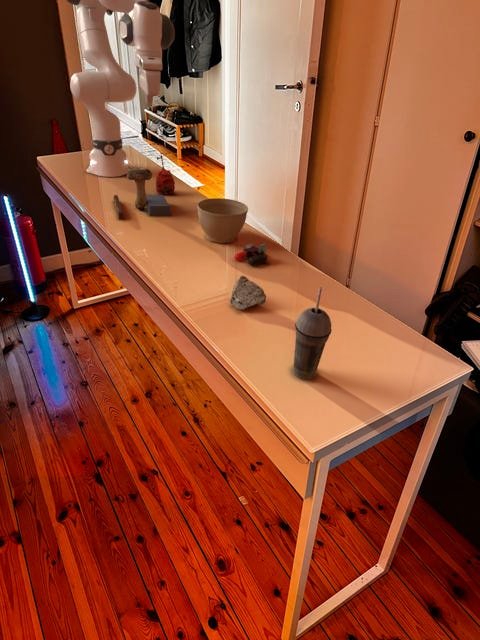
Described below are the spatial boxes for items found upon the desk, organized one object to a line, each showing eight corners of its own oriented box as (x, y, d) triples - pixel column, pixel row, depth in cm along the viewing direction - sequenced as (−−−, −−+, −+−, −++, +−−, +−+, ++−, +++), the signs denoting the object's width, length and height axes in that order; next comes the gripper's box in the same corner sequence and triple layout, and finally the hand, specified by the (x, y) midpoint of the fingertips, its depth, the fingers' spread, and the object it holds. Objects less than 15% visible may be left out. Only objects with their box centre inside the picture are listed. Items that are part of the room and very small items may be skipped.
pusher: (144, 204, 177) (144, 195, 175) (163, 203, 179) (163, 194, 177) (149, 215, 168) (149, 206, 166) (169, 215, 170) (169, 205, 168)
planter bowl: (254, 237, 159) (257, 206, 153) (226, 252, 148) (229, 219, 142) (215, 224, 166) (217, 194, 160) (186, 237, 154) (186, 205, 149)
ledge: (113, 201, 177) (113, 195, 175) (117, 201, 177) (117, 195, 176) (118, 219, 162) (118, 212, 161) (123, 219, 163) (123, 212, 162)
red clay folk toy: (161, 196, 186) (161, 157, 178) (152, 191, 190) (151, 152, 182) (177, 194, 190) (178, 155, 182) (168, 189, 194) (168, 151, 186)
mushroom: (136, 215, 167) (135, 172, 159) (123, 208, 172) (121, 166, 164) (158, 210, 173) (158, 169, 165) (144, 203, 178) (144, 162, 170)
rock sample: (217, 293, 118) (241, 267, 118) (220, 298, 125) (242, 274, 126) (248, 320, 117) (272, 294, 117) (249, 324, 124) (272, 299, 125)
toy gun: (252, 248, 152) (253, 234, 149) (270, 264, 143) (272, 249, 141) (224, 251, 148) (226, 237, 145) (242, 268, 139) (243, 253, 136)
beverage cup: (285, 380, 98) (300, 296, 87) (288, 359, 104) (302, 278, 93) (321, 386, 97) (340, 302, 86) (321, 365, 103) (339, 284, 92)
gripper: (134, 57, 164) (135, 100, 171) (143, 63, 147) (144, 111, 155) (152, 58, 165) (153, 101, 173) (163, 65, 149) (163, 112, 157)
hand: (149, 106), depth 164 cm, fingers closed
